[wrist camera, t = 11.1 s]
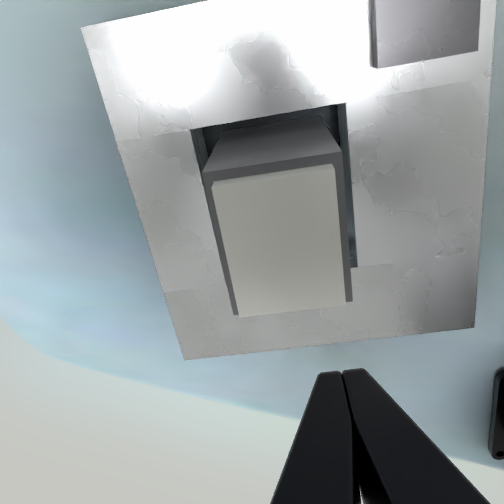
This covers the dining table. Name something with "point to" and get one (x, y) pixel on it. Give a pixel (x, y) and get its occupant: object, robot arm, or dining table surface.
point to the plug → (280, 217)
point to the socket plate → (351, 141)
